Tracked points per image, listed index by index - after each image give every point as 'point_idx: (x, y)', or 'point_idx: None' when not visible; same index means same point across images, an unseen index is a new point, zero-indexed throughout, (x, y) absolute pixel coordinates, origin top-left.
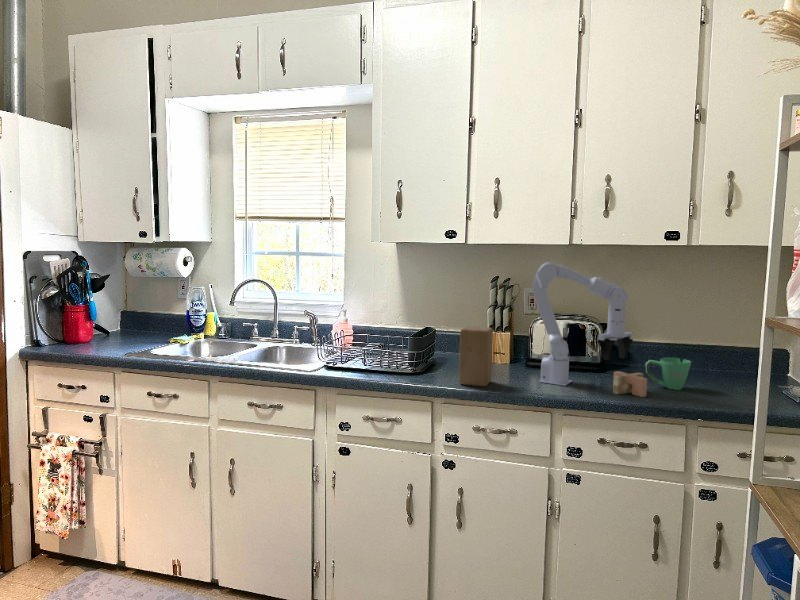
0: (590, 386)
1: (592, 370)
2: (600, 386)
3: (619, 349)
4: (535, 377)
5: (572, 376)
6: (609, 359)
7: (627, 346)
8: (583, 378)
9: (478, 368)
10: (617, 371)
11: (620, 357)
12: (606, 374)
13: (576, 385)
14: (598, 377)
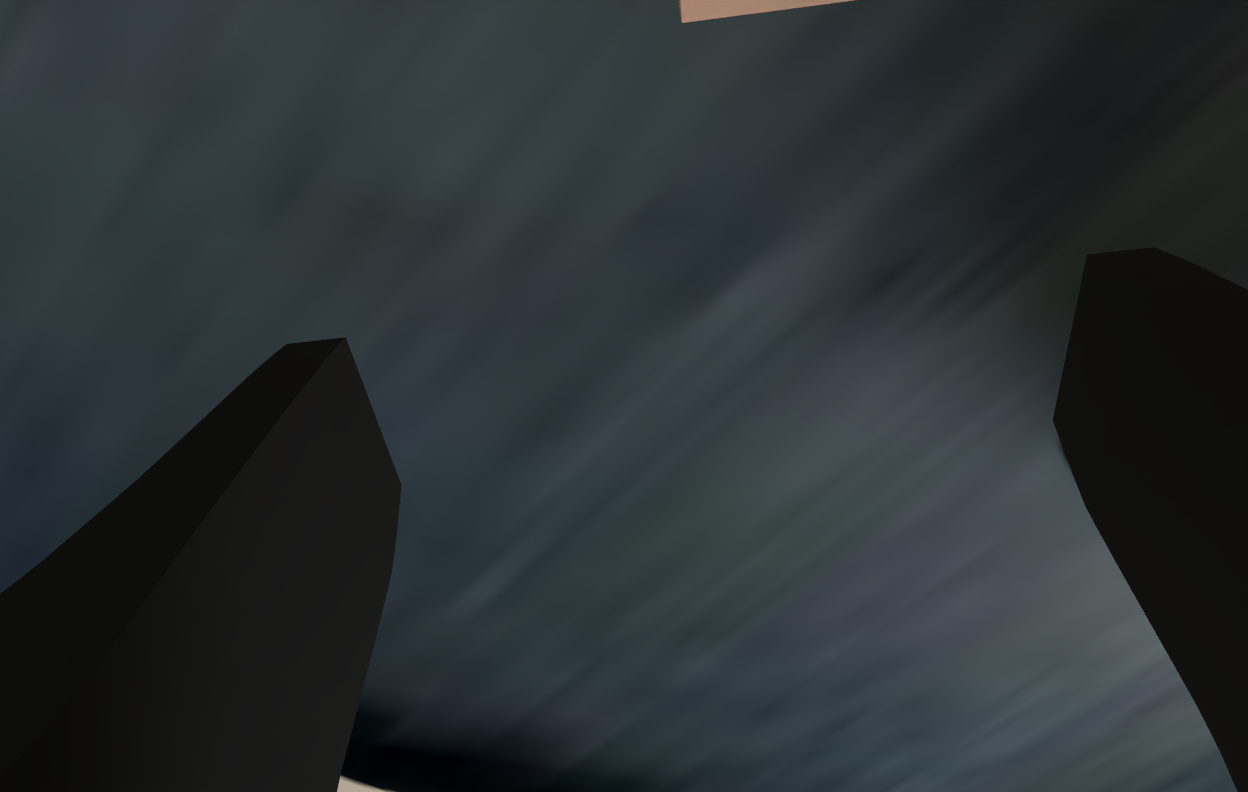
0: (1049, 170)
1: None
2: (883, 121)
3: (329, 745)
4: None
5: (786, 641)
6: (1116, 262)
7: (13, 700)
8: (729, 551)
9: None
10: (735, 12)
11: (382, 462)
12: None
13: None
14: (483, 547)
